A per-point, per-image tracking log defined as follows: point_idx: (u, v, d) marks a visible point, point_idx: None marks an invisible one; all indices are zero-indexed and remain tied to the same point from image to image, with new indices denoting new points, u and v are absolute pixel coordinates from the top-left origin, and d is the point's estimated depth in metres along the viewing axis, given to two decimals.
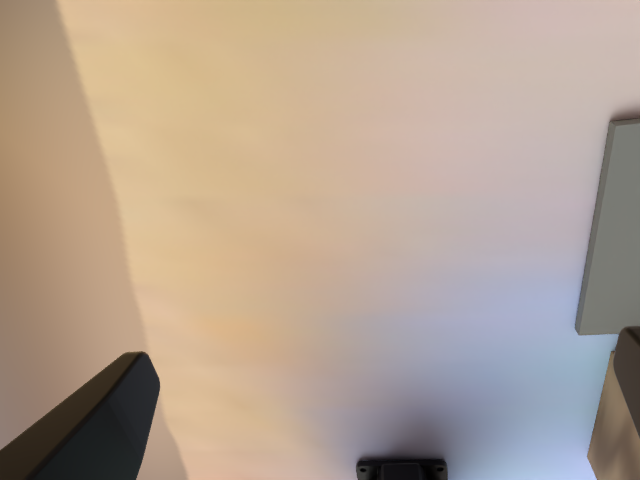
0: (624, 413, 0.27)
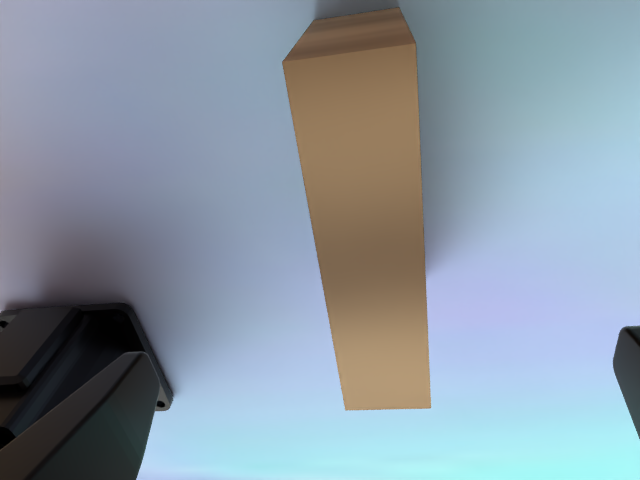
0: None
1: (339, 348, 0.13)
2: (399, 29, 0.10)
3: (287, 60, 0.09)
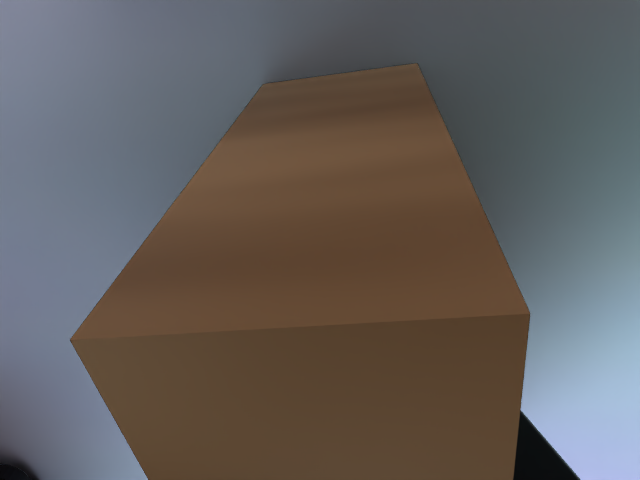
0: None
1: None
2: (438, 168, 0.04)
3: (91, 328, 0.03)
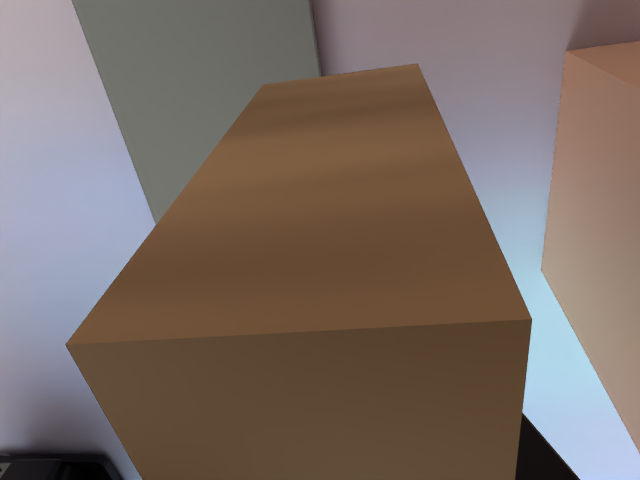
0: None
1: None
2: (439, 170, 0.04)
3: (87, 333, 0.03)
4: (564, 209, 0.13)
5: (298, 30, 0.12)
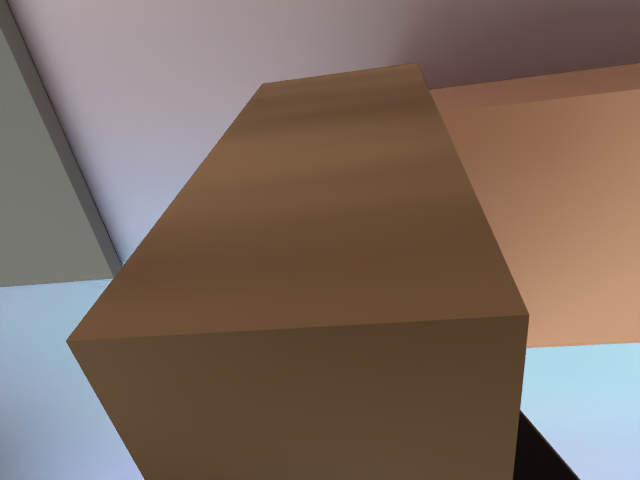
0: None
1: None
2: (438, 168, 0.04)
3: (88, 329, 0.03)
4: None
5: (14, 88, 0.12)
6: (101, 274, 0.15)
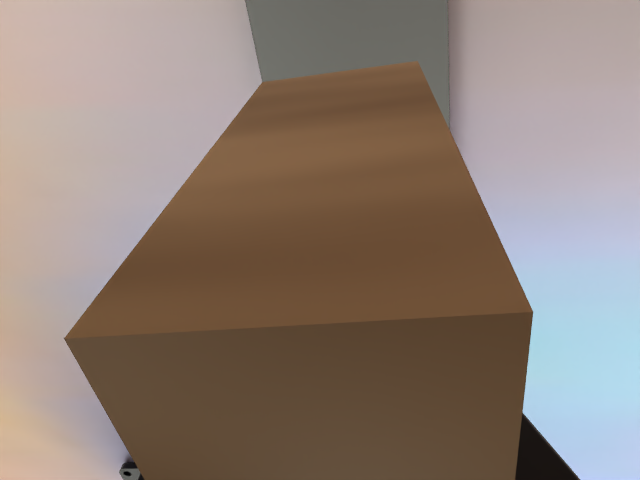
0: None
1: None
2: (439, 165, 0.04)
3: (86, 327, 0.03)
4: None
5: None
6: None
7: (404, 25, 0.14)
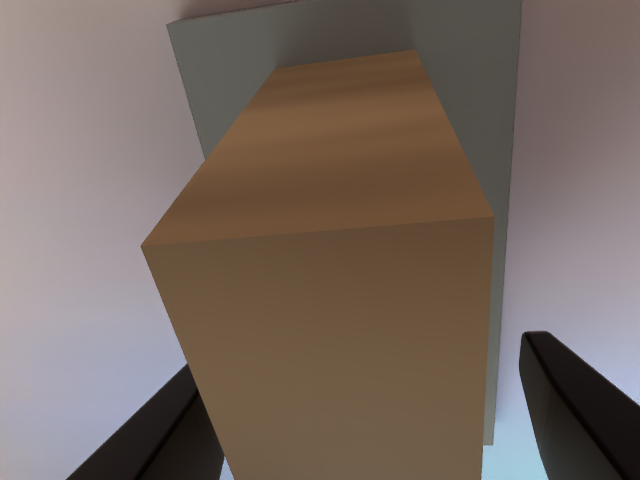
0: None
1: None
2: (430, 128, 0.05)
3: (156, 238, 0.04)
4: None
5: None
6: None
7: (441, 86, 0.08)
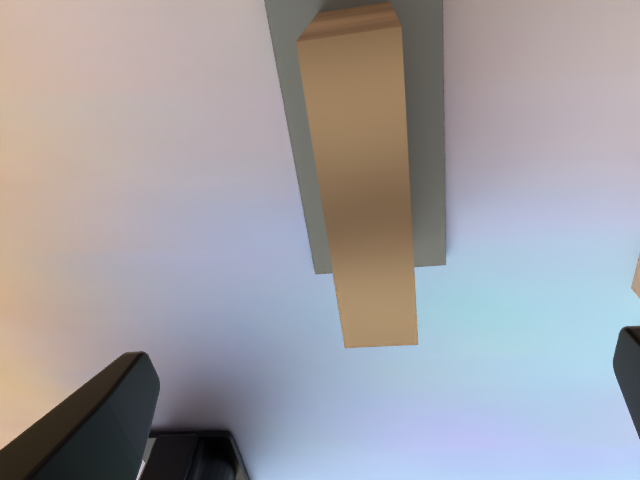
0: None
1: (340, 290, 0.15)
2: (389, 17, 0.13)
3: (300, 40, 0.11)
4: None
5: (435, 138, 0.18)
6: (437, 262, 0.21)
7: (404, 22, 0.16)
